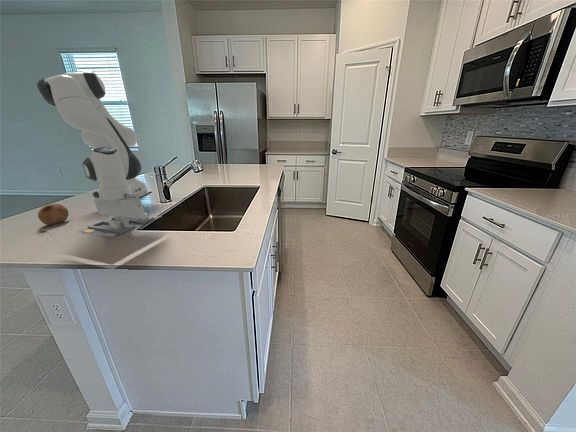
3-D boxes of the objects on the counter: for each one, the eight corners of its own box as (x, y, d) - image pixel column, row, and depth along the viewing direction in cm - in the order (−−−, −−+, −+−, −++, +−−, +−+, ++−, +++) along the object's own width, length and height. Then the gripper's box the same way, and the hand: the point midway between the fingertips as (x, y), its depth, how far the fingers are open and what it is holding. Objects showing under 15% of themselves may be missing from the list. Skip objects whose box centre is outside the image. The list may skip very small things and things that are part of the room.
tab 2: (141, 218, 107) (139, 211, 105) (148, 219, 106) (147, 212, 104) (135, 221, 104) (133, 213, 103) (142, 222, 103) (141, 214, 102)
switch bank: (131, 214, 115) (130, 209, 114) (162, 218, 110) (161, 214, 110) (78, 234, 94) (76, 229, 93) (113, 241, 89) (111, 235, 88)
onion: (58, 233, 102) (45, 217, 95) (39, 225, 103) (25, 209, 96) (78, 218, 108) (67, 202, 101) (60, 211, 109) (49, 195, 102)
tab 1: (117, 226, 98) (115, 218, 97) (125, 228, 97) (123, 219, 96) (110, 229, 95) (108, 221, 94) (118, 230, 94) (116, 222, 93)
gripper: (145, 193, 90) (152, 226, 95) (104, 188, 96) (113, 220, 101) (130, 197, 85) (138, 233, 90) (87, 192, 90) (97, 226, 95)
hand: (124, 226), depth 95 cm, fingers closed
